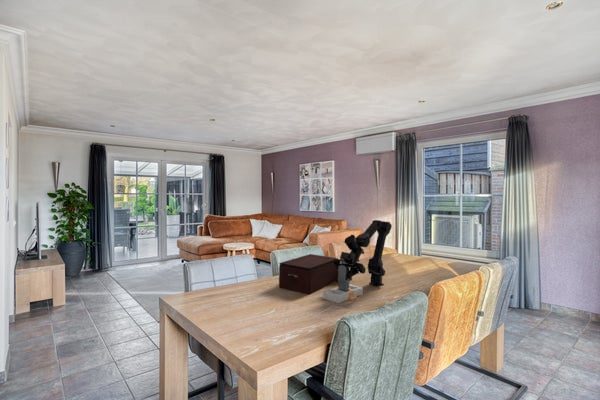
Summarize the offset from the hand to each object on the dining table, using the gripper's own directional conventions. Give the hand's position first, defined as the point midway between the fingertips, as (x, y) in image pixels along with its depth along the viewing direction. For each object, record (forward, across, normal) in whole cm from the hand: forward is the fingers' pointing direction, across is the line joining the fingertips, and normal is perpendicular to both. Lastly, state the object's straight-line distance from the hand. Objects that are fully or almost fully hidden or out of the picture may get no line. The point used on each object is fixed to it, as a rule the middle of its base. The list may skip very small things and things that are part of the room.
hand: (342, 278), depth 173 cm
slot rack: (+6, 0, +8) cm, 10 cm away
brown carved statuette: (-12, -18, +26) cm, 34 cm away
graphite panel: (+4, 0, +6) cm, 7 cm away
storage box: (+4, -28, +10) cm, 31 cm away
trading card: (+23, +13, -9) cm, 28 cm away
